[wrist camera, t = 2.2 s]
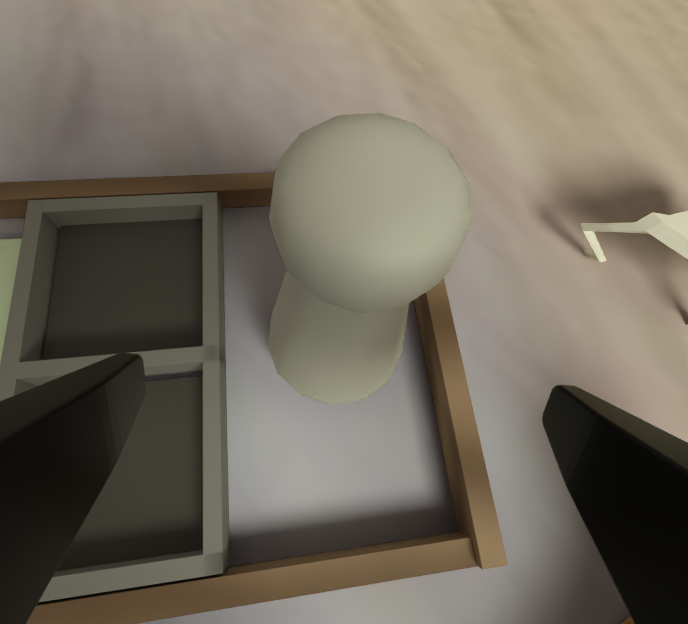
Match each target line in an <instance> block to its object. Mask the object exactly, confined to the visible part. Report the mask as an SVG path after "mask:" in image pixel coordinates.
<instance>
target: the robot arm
mask: <svg viewBox="0 0 688 624" xmlns="http://www.w3.org/2000/svg"><path fill="white" fill-rule="evenodd" d="M145 395H146V379H145V371H144V362H143V359H142V357H141V356H140V355H139V354H132V353H118V354H116V355H113V356H111V357H108V358H106V359H103V360H101V361H98V362H96V363H93V364H91V365H88V366H86V367H83V368H81V369H78V370H76V371H73V372H71V373H68V374H66V375H64V376H61V377H59V378H56V379H54V380H51V381H49V382H46V383H44V384H41V385H39V386H36V387H34V388H31V389H29V390H26V391H24V392H21V393H19V394H16V395H14V396H12V397H9V398H7V399H4V400H2V401H0V624H26V623H27V622H28V620H29V618H30V616H31V614H32V613H33V611H34V609H35V607H36V606H37V604H38V602H39V600H40V599H41V597H42V595H43V593H44V591H45V590H46V588H47V586H48V584H49V583H50V581H51V579H52V577H53V575H54V574H55V572H56V570H57V568H58V567H59V565H60V563H61V561H62V560H63V558H64V556H65V554H66V552H67V551H68V549H69V547H70V545H71V544H72V542H73V540H74V538H75V537H76V535H77V533H78V531H79V529H80V528H81V526H82V524H83V522H84V521H85V519H86V517H87V515H88V514H89V512H90V510H91V508H92V506H93V505H94V503H95V501H96V499H97V498H98V496H99V494H100V492H101V491H102V489H103V487H104V485H105V483H106V482H107V480H108V478H109V476H110V475H111V473H112V471H113V469H114V467H115V465H116V464H117V462H118V460H119V457H120V455H121V453H122V451H123V448H124V446H125V444H126V441H127V439H128V437H129V434H130V432H131V430H132V427H133V425H134V422H135V420H136V418H137V415H138V413H139V411H140V408H141V406H142V404H143V401H144V399H145ZM542 421H543V426H544V429H545V431H546V434H547V437H548V439H549V442H550V445H551V447H552V450H553V453H554V455H555V458H556V461H557V463H558V466H559V469H560V471H561V474H562V477H563V479H564V481H565V484H566V486H567V488H568V491H569V493H570V495H571V497H572V499H573V501H574V503H575V505H576V507H577V509H578V511H579V513H580V515H581V517H582V519H583V521H584V523H585V525H586V527H587V529H588V531H589V533H590V536H591V538H592V540H593V542H594V544H595V546H596V548H597V550H598V552H599V554H600V556H601V558H602V560H603V562H604V564H605V566H606V568H607V570H608V572H609V574H610V576H611V578H612V580H613V582H614V584H615V586H616V588H617V590H618V592H619V594H620V596H621V598H622V600H623V602H624V604H625V606H626V608H627V610H628V612H629V614H630V616H631V618H632V620H633V622H634V624H688V443H687V442H685V441H683V440H681V439H679V438H677V437H675V436H673V435H671V434H669V433H667V432H665V431H663V430H661V429H659V428H657V427H655V426H653V425H651V424H649V423H647V422H645V421H643V420H642V419H640V418H638V417H636V416H634V415H632V414H630V413H628V412H626V411H624V410H622V409H620V408H618V407H616V406H614V405H612V404H610V403H608V402H606V401H604V400H602V399H600V398H598V397H596V396H594V395H592V394H590V393H588V392H586V391H584V390H582V389H580V388H578V387H576V386H570V385H557V386H555V387H554V388H553V389H552V391H551V394H550V397H549V399H548V402H547V405H546V407H545V410H544V413H543V418H542Z"/></svg>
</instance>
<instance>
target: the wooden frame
mask: <svg viewBox="0 0 688 624" xmlns="http://www.w3.org/2000/svg"><path fill="white" fill-rule="evenodd" d="M274 178H275V172H271V173H245V174H218V175H191V176H164V177H137V178H110V179H83V180H56V181H29V182H3V183H0V219H1V218H22V217H26V211H27V205H28V200H47V199H71V198H94V197H118V196H141V195H165V194H188V193H212V192H217V194H218V198H219V201H220V204H221V207H222V208H234V207H255V206H271V199H272V192H273V184H274ZM414 303H415V308H416V314H417V319H418V324H419V329H420V334H421V340H422V345H423V350H424V355H425V361H426V366H427V371H428V376H429V381H430V387H431V392H432V397H433V402H434V407H435V413H436V418H437V423H438V428H439V433H440V439H441V444H442V449H443V454H444V459H445V465H446V470H447V475H448V480H449V485H450V491H451V496H452V501H453V506H454V511H455V517H456V522H457V527H458V532H453V533H446V534H440V535H433V536H427V537H421V538H414V539H408V540H401V541H395V542H388V543H382V544H375V545H369V546H363V547H356V548H350V549H343V550H337V551H330V552H324V553H318V554H311V555H305V556H298V557H292V558H285V559H279V560H272V561H266V562H260V563H253V564H247V565H240V566H234V567H227V569H226V570H225V571H224V573H222V574H216V575H210V576H203V577H197V578H191V579H184V580H178V581H171V582H165V583H159V584H152V585H146V586H140V587H133V588H127V589H120V590H114V591H108V592H101V593H95V594H89V595H82V596H76V597H69V598H63V599H57V600H50V601H44V602H38V604H37V606H36V607H35V609H34V611H33V613H32V614H31V616H30V618H29V620H28V622H27V623H26V624H136V623H142V622H148V621H154V620H159V619H165V618H171V617H177V616H183V615H189V614H195V613H201V612H207V611H213V610H219V609H225V608H231V607H237V606H243V605H249V604H255V603H261V602H267V601H273V600H279V599H285V598H291V597H297V596H303V595H309V594H315V593H321V592H327V591H333V590H339V589H345V588H351V587H356V586H362V585H368V584H374V583H380V582H386V581H392V580H398V579H404V578H410V577H416V576H422V575H428V574H434V573H440V572H446V571H452V570H458V569H464V568H470V567H476V566H478V567H480V568H481V569H487V568H493V567H499V566H505V565H508V564H507V560H506V555H505V551H504V546H503V542H502V537H501V533H500V528H499V524H498V519H497V515H496V510H495V506H494V502H493V497H492V493H491V488H490V484H489V479H488V475H487V470H486V466H485V461H484V457H483V452H482V448H481V443H480V439H479V434H478V430H477V425H476V421H475V416H474V412H473V408H472V403H471V399H470V394H469V390H468V385H467V381H466V376H465V372H464V367H463V363H462V358H461V354H460V349H459V345H458V340H457V336H456V331H455V327H454V323H453V318H452V314H451V309H450V305H449V300H448V296H447V291H446V287H445V282H444V278H443V279H442V280H441V281H440V282H439V284H438V285H437V286H435V287H433V288H432V289H430V290H429V291H427V292H426V293H424V294H422V295H421V296H419V297H418V298H416V299H415V300H414Z"/></svg>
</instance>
